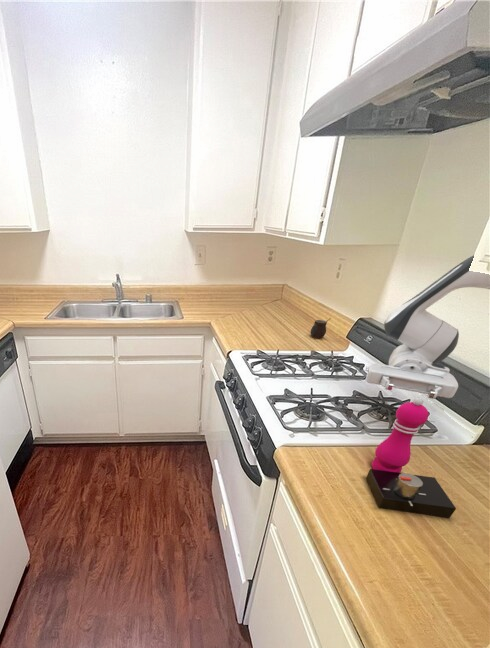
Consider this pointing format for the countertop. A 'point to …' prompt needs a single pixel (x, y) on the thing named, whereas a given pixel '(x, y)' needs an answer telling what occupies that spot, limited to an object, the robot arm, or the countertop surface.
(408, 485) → the hob knob
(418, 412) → the pepper mill
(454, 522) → the countertop surface
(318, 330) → the mate gourd
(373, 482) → the black knob panel
